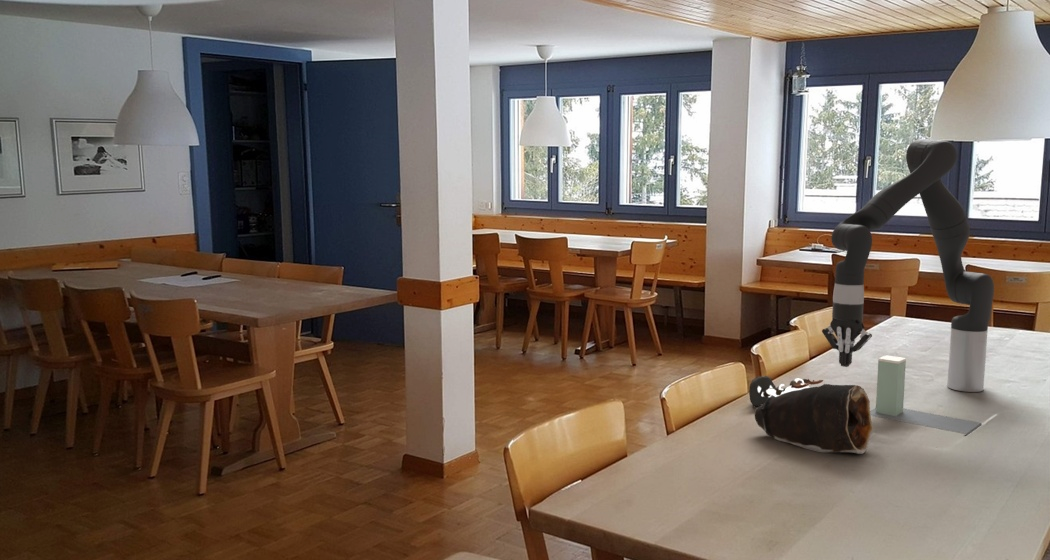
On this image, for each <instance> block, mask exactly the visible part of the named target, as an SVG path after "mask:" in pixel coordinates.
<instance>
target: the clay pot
mask: <svg viewBox="0 0 1050 560" xmlns="http://www.w3.org/2000/svg"><path fill="white" fill-rule="evenodd" d="M809 387H810V386H809ZM870 402H871V400H870V399H869V396H868V395H867V393H866V391H865V389H864V388H863V387H862V386H860V385H856V384H829V383H828V384H827V383H824V384H822V385H819V386H812V387H810V388H804V389H801V390H796V391H791V392H787V393H784V394H781V395H779V396H777V397H769V398H768V399H767V401H766V402H765V403H764V404H762V405H760V406H758V407H756V409H755V410H754V419H755V421H756V424H757V425H758V427H760V428H761V429H762V430H763V432H765V434H766V435H768V436H769V437H771V438H773V439H775V440H776V441H778V442H783V443H789V444H792V445H794V446H796V447H799V448H800V447H801V448H804V449H806V450H810V451H813V452H814V451H815V452H819V453H823V454H824V453H851V454H853V453H854V454H857V455H862V454H864V453H865V452H866V451H867V448H868V446H869V444H870V441H871V437H872V436H873V422H872V416H871V415H870V411H871V405H870V404H871V403H870Z"/></svg>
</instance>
